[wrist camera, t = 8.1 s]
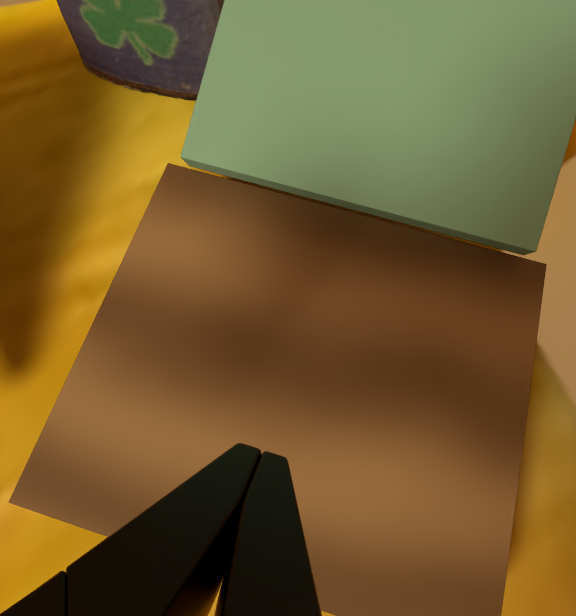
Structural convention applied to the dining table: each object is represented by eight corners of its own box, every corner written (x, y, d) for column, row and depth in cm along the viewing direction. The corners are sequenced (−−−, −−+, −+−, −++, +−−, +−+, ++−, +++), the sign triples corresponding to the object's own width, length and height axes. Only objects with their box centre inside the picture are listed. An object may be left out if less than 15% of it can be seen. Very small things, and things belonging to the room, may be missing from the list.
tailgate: (545, 251, 18) (636, -58, 18) (173, 153, 19) (254, -137, 19) (525, 257, 20) (608, -24, 19) (186, 167, 21) (261, -98, 21)
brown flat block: (450, 633, 18) (494, 670, 15) (59, 500, 20) (8, 502, 16) (503, 301, 23) (546, 264, 19) (185, 213, 25) (168, 162, 21)
